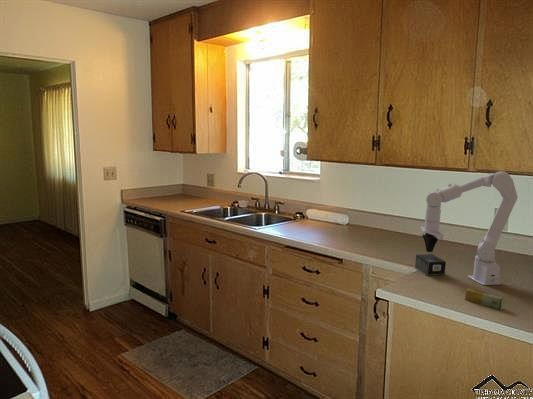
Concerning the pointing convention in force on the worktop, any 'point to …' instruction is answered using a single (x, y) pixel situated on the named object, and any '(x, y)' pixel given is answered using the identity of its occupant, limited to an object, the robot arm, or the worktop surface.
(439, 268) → the box
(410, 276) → the worktop surface
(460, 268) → the worktop surface
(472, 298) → the medication box
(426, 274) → the gray flat panel
